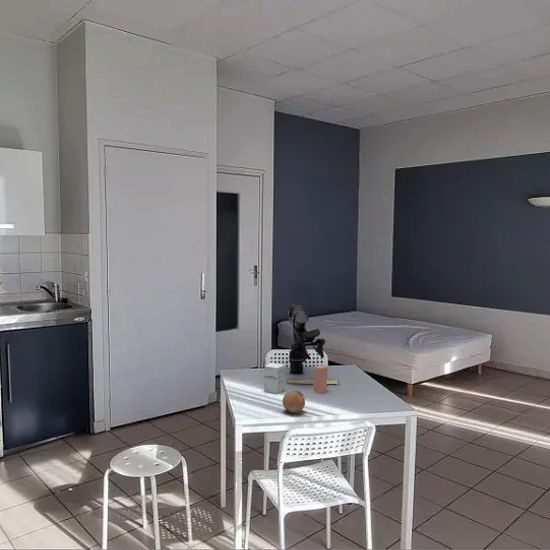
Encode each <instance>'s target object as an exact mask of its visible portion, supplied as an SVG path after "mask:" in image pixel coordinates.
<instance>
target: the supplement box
mask: <svg viewBox="0 0 550 550" xmlns="http://www.w3.org/2000/svg"><path fill="white" fill-rule="evenodd" d="M285 367H286V366H285V364H281V363H273V362H270V363H268V364H266V365H264V381H263V383H264V384H263V392H267V393H272V394H276V395H278V394H280V393H281V392H283V391H284V390H285V389H284V386H285ZM279 392H280V393H279Z"/></svg>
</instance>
